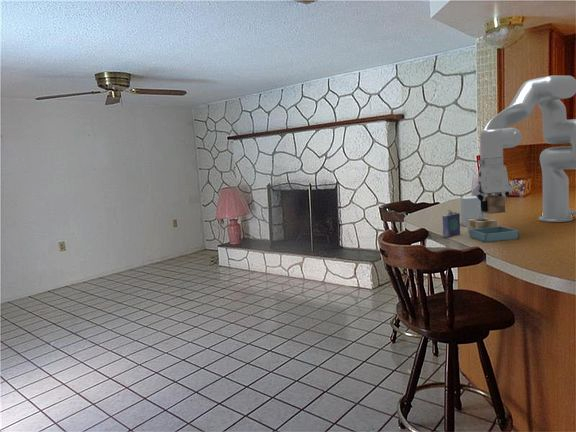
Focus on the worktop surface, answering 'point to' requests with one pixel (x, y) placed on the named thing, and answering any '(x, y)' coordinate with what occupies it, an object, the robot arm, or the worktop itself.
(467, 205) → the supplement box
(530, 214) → the worktop surface
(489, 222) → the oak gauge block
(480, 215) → the steel pin
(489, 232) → the teal tray
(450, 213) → the flask
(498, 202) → the walnut block
